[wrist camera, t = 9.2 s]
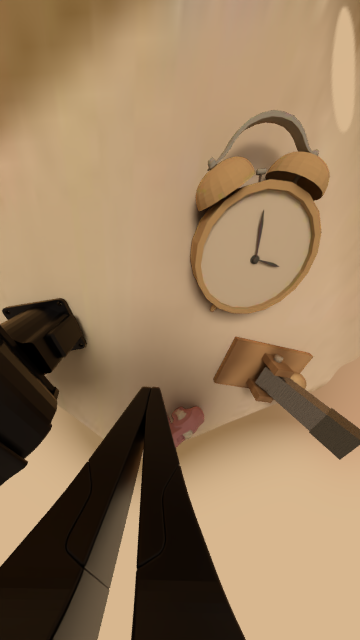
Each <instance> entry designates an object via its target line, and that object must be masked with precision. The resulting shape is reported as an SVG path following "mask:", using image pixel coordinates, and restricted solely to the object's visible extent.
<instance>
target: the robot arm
mask: <svg viewBox="0 0 360 640" xmlns="http://www.w3.org/2000/svg"><path fill="white" fill-rule="evenodd" d="M59 302H61V303H62V305H61V304H59ZM9 311H10V312H9ZM2 312H3V314H4V315H5V317H6V318H7V319H8V320H7V321H5V322H4V323H2V324H0V486H1V485H2V484H3V483H4V482H5V481H7V480H8V479H9V478H11V477H12V476H13V475H15V474H16V473H18V472H19V471H20V470H22V469H23V468H25V466H26V465H27V463H28V461H26V460H25V458H26V457H27V456H28V455H29V454H30V453H31V452H33V451H34V450H35V448H37V446H38V445H39V444H40V443H41V442H42V440H43V439H44V438H45V437H46V435H47V434H48V433H49V431H50V430H51V427H52V424H51V421H52V419H53V417H54V414H55V412H56V409H57V398H58V394H59V390H58V389H57V388H56V387H54V386H53V385H52V384H51V383H50V382H49V380H48V379H47V378H46V377H45V376H44V375H45V374H46V373H51V372H52V371H53V370H54V368H55V367H56V366H57V364H58V363H59V362H60V361H61V359H62V358H63V357H66V356H67V354H68V353H69V352H70V350H76V349H82V348H84V347H85V346H86V341H85V339H84V337H83V335H82V332H81V330H80V328H79V326H78V324H77V322H76V320H75V318H74V316H73V315H72V313H71V311H70V309H69V307H68V305H67V303H66V301H65V300H64V299H62V298H58V299H52V300H46V301H40V302H33V303H27V304H21V305H15V306H9V307H6V308H4V309H3V310H2ZM81 344H83V345H81ZM142 453H143V466H142V483H141V500H140V501H141V502H140V517H139V534H138V550H137V571H136V584H135V598H134V613H133V625H132V636H131V637H132V638H131V640H246V639H245V637H244V635H243V633H242V631H241V629H240V626H239V624H238V622H237V620H236V618H235V616H234V613H233V611H232V609H231V607H230V604H229V602H228V600H227V597H226V595H225V592H224V590H223V588H222V585H221V583H220V580H219V578H218V575H217V572H216V570H215V567H214V565H213V562H212V559H211V556H210V553H209V551H208V548H207V545H206V543H205V541H204V537H203V535H202V532H201V529H200V527H199V524H198V521H197V518H196V516H195V513H194V510H193V507H192V504H191V501H190V498H189V496H188V492H187V488H186V485H185V481H184V478H183V474H182V470H181V467H180V466H179V459H178V456H177V452H176V448H175V444H174V440H173V436H172V432H171V429H170V425H169V421H168V417H167V413H166V410H165V406H164V402H163V398H162V394H161V390H160V388H159V387H152V388H151V387H145V386H144V387H142V388H141V389H140V391H139V392H138V393H137V395H136V396H135V398H134V399H133V400H132V402H131V403H130V404H129V406H128V407H127V408H126V410H125V411H124V412H123V414H122V415H121V417H120V418H119V419H118V421H117V422H116V423H115V425H114V426H113V427H112V429H111V430H110V431H109V433H108V434H107V436H106V437H105V438H104V440H103V441H102V442H101V444H100V445H99V446H98V448H97V449H96V451H95V452H94V453H93V455H92V456H91V457H90V459H89V462H87V463H86V464H85V465H84V467H83V468H82V469H81V471H80V472H79V473H78V475H77V476H76V477H75V479H74V480H73V481H72V483H71V484H70V485H69V486H68V488H67V489H66V490H65V492H64V493H63V494H62V495H61V496H60V498H59V499H58V500H57V501H56V502H55V504H54V505H53V506H52V507H51V508H50V510H49V511H48V512H47V513H46V514H45V516H44V517H43V518H42V519H41V520H40V522H38V524H37V525H36V526H35V527H34V529H33V530H32V531H31V532H30V533H29V534H28V535H27V537H26V538H25V539H24V540H23V541H22V542H21V544H20V545H19V546H18V547H17V548H16V549H15V550H14V552H13V553H12V554H11V555H10V556H9V558H8V559H7V560H6V561H5V562H4V563H3V564H2V566H1V567H0V640H97V639H98V634H99V630H100V626H101V622H102V618H103V614H104V610H105V606H106V602H107V597H108V593H109V588H110V585H111V581H112V577H113V572H114V568H115V564H116V560H117V556H118V552H119V547H120V544H121V539H122V535H123V531H124V527H125V523H126V519H127V514H128V510H129V506H130V502H131V498H132V494H133V490H134V486H135V481H136V477H137V473H138V469H139V465H140V461H141V457H142Z"/></svg>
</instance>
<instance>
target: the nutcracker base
mask: <svg viewBox="0 0 360 640" xmlns="http://www.w3.org/2000/svg"><path fill="white" fill-rule="evenodd" d="M312 358H313V356H312V355H311V354H310V353H307V352H302V351H298V350H293V349H289V348H284V347H280V346H275V345H271V344H266V343H262V342H257V341H253V340H248V339H244V338H239V337H235V339H234V341H233V343H232V345H231V346H230V348H229V350H228V352H227V354H226V356H225V358H224V360H223V362H222V364H221V366H220V368H219V369H218V371H217V373H216V375H215V377H214V382H215V383H218V384H225V385H231V386H238V387H244V388H249V389H250V391H251V392H252V394H253V396H254V398H255V400H256V401H262V402H269V403H271V402H272V401H273V398H272V397H271V396H270V395H269V394H268V393H266V392H265V391H264V390H263V389H262V388H261V387H260V386H259V385H258V384H256V383H255V382H256V380H257V379H258V377H259V376H260V374H261V373H262V371H263V370H264V368H265V367H266V366H267V367H268V368H269V369H270V370H271V372H272V373H273V374H274V376H280V377H286V378H290V379H292V380H293V381H294V382H296V383H297V384H298V385H300V386H301V387H302V388H304V389H305V388H306V380H305V378H304V377H303V376H302V375H301V374H300V372H301V371H302V370H303V369H304V367H305V366H306V365H307V364H308V362H309V361H310V360H311V359H312Z"/></svg>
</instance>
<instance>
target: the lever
mask: <svg viewBox="0 0 360 640" xmlns="http://www.w3.org/2000/svg"><path fill="white" fill-rule="evenodd" d="M255 383H256V384H258V385H259V386H260V387H261V388H262V389H263V390H264V391H265V392H266V393H268V394H269V395H270V396H271V397H272V398H273V399H274V400H275V401H277V402H278V403H279V404H280V405H281V406H282V407H283V408H284V409H286V410H287V411H288V412H289V413H290V414H291V415H292V416H293V417H295V418H296V419H297V420H298V421H299V422H300V423H301V424H302V425H303V426H305V427H306V428H307V429H308V430H309V431H310V432H309V433H311V434H312V435H313V436H314V437H315V438H316V439H317V440H318V441H319V442H321V443H322V444H323V445H324V446H325V447H326V448H327V449H328V450H330V451H331V452H332V453H333V454H334V455H335V456H336V457H337V458H338V459H341V458H343V457H344V456H346V455H347V454H348V453H349V452H351V451H352V450H354V449H355V448H356V447H357V446H359V445H360V429H359V428H358V427H356V426H355V425H353V424H352V423H351V422H350V421H348V420H347V419H346V418H344V417H343V416H342V415H340V414H339V413H337V412H336V411H335V410H334V409H330V408H329V407H328V406H326V405H325V404H324V403H322V402H321V401H319V400H318V399H317V398H315V397H314V396H313V395H312V394H310V393H309V392H308V391H306V390H305V389H304V388H302V387H301V386H300V385H298V384H297V383H296V382H294V381H293V380H292V379H290V378H286V377H280V376H274V374H273V373H272V372H271V370H270V369H269V368H268V367H267V366H266V367H265V368H264V370H263V371H262V373H261V374H260V376H259V377H258V379H257V380H256V382H255Z"/></svg>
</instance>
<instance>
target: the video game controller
mask: <svg viewBox="0 0 360 640" xmlns="http://www.w3.org/2000/svg"><path fill="white" fill-rule="evenodd" d="M167 417H168V416H167ZM172 418H173V419H174V420H173V423H171V424H170V419H169V417H168V421H169V425H170V429H171V432H172V436H173V440H174V444H175V448H176V447H177V446H178V445H179V444H180V443H181V442H183V441H184V440H185V439H188V438H190V437H191V436H192V434H194V433H195V432H196V430H197V429H198V427H199V426H200V425H201V424H202V423H203V422H204V414H203V411H202V410H201V409H200V408H199V407H192V408H190V409H184V408H183V407H179V408H177V409H176V410H175V411H174V412H173V413H172Z"/></svg>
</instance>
